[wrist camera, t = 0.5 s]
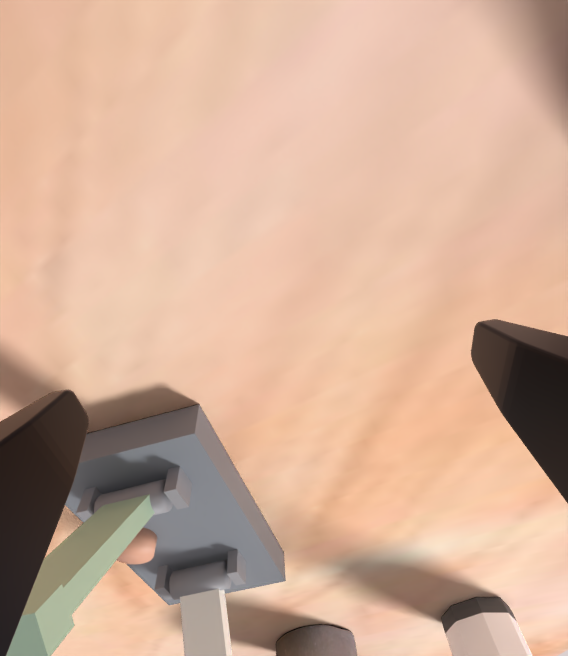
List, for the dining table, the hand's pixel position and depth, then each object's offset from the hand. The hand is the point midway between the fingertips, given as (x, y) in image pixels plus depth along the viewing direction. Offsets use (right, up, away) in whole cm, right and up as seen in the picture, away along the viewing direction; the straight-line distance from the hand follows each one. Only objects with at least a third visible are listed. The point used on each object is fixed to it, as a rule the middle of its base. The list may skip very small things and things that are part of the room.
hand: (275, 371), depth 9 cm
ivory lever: (-7, -18, +24) cm, 31 cm away
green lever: (-9, -10, +17) cm, 22 cm away
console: (-8, -13, +24) cm, 29 cm away
